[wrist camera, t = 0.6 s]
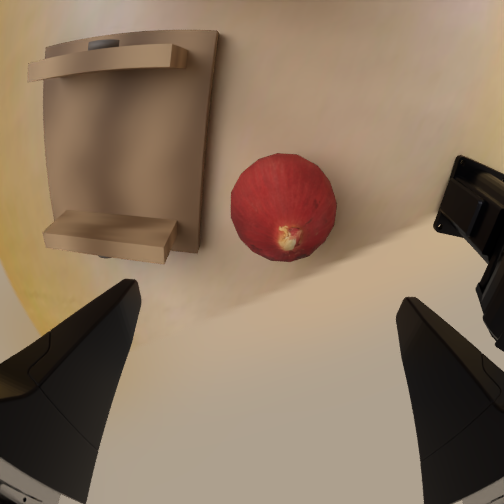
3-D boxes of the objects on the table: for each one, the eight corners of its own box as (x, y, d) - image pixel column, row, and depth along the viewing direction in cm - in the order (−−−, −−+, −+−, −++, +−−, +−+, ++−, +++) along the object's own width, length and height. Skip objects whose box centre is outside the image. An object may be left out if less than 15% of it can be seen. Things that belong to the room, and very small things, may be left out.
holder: (218, 33, 14) (207, 19, 10) (199, 246, 22) (188, 284, 18) (53, 47, 13) (13, 48, 10) (63, 230, 22) (35, 260, 18)
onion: (330, 209, 20) (363, 280, 14) (252, 233, 22) (250, 312, 15) (308, 130, 18) (341, 166, 11) (222, 158, 19) (201, 210, 12)
